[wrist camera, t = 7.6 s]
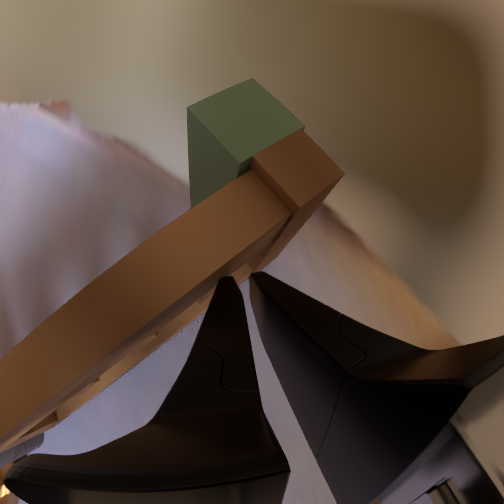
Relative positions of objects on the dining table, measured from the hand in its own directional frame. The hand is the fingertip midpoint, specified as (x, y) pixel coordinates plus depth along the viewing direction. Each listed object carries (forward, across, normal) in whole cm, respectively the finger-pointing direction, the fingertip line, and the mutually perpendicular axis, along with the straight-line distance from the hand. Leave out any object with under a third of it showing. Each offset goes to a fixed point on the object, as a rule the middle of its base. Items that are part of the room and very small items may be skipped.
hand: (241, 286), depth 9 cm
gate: (+4, +4, +5) cm, 7 cm away
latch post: (+7, 0, +1) cm, 8 cm away
